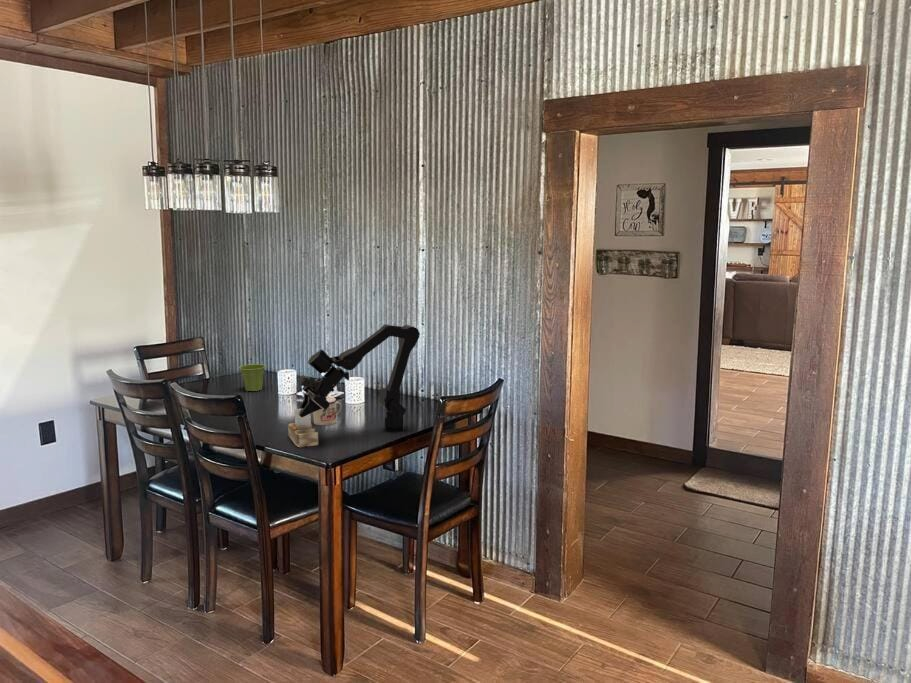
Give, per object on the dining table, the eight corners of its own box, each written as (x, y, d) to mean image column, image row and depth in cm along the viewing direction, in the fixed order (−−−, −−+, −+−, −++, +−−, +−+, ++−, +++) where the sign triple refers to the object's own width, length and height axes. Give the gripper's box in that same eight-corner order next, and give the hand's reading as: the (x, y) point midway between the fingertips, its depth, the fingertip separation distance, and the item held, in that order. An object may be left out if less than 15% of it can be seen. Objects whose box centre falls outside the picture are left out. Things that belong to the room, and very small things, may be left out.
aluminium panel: (310, 434, 258) (308, 407, 256) (311, 436, 256) (309, 409, 254) (296, 436, 256) (294, 409, 254) (297, 438, 254) (295, 411, 252)
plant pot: (240, 388, 337) (238, 365, 335) (266, 386, 341) (265, 363, 339) (240, 394, 326) (239, 369, 324) (267, 392, 330) (266, 368, 328)
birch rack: (308, 433, 264) (308, 419, 264) (318, 445, 251) (317, 430, 250) (288, 436, 262) (287, 421, 261) (297, 447, 248) (296, 432, 247)
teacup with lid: (321, 427, 273) (319, 397, 271) (308, 422, 279) (307, 393, 278) (347, 421, 281) (346, 392, 279) (335, 416, 287) (334, 388, 285)
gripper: (306, 362, 262) (277, 395, 259) (318, 372, 245) (287, 407, 243) (328, 381, 266) (300, 414, 264) (342, 392, 250) (311, 427, 247)
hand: (299, 415), depth 254 cm, fingers open, 4 cm apart
